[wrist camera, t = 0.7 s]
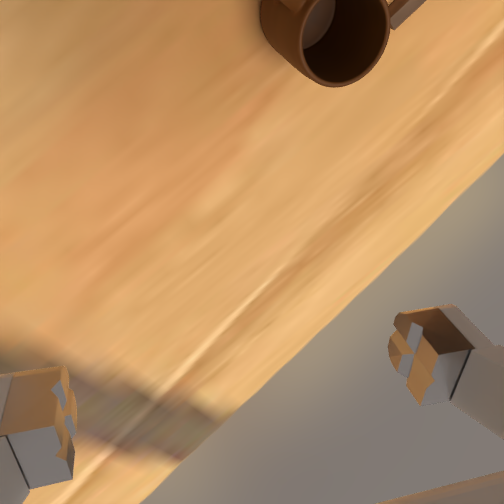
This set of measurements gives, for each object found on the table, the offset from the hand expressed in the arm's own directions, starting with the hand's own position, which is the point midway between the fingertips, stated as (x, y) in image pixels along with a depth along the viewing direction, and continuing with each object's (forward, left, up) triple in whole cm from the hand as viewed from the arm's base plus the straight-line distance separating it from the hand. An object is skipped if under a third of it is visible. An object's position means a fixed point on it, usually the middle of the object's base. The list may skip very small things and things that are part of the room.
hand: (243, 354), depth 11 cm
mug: (+7, +11, -35) cm, 37 cm away
